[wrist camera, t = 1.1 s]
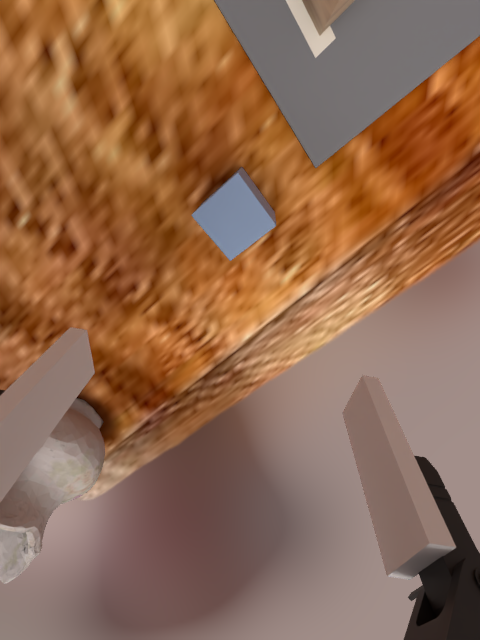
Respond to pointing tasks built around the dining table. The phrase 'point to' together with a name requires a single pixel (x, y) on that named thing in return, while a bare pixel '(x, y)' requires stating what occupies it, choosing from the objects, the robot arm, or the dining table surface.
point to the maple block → (325, 12)
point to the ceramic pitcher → (49, 485)
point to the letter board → (347, 59)
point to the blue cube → (235, 215)
